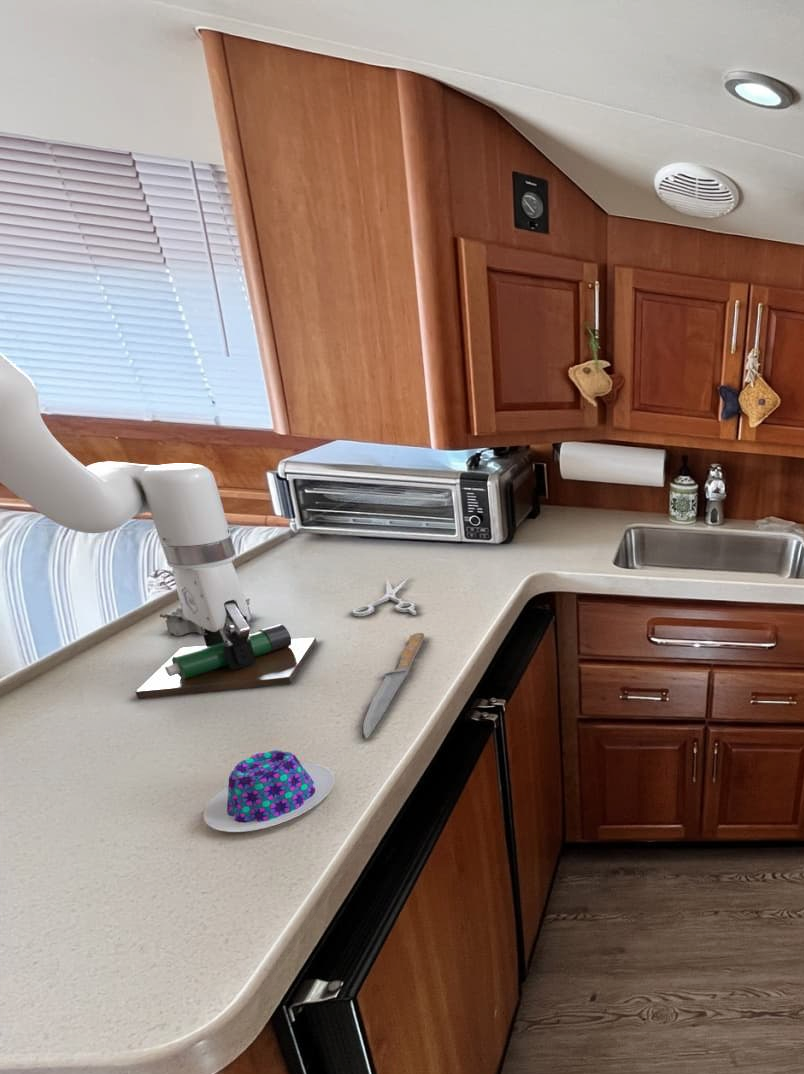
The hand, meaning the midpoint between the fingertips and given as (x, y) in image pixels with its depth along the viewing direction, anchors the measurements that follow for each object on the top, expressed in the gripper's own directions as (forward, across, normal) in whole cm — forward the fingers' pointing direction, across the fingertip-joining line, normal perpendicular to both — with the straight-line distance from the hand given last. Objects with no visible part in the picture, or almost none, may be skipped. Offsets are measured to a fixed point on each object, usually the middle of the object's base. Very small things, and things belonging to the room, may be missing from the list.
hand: (233, 659), depth 99 cm
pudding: (+2, +37, -12) cm, 39 cm away
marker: (0, 0, 0) cm, 1 cm away
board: (+2, 0, 0) cm, 2 cm away
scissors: (+2, -9, +30) cm, 31 cm away
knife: (+2, +23, +11) cm, 25 cm away
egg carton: (+2, -20, +5) cm, 20 cm away
